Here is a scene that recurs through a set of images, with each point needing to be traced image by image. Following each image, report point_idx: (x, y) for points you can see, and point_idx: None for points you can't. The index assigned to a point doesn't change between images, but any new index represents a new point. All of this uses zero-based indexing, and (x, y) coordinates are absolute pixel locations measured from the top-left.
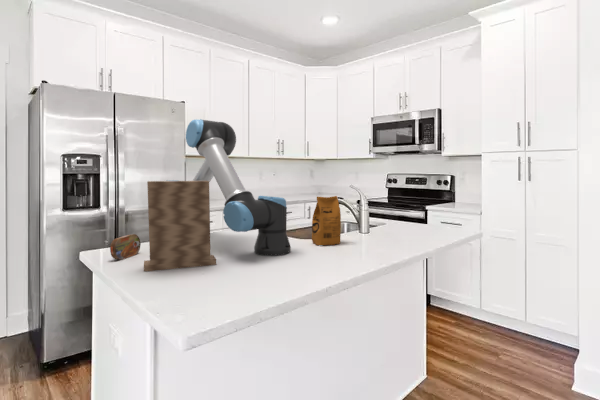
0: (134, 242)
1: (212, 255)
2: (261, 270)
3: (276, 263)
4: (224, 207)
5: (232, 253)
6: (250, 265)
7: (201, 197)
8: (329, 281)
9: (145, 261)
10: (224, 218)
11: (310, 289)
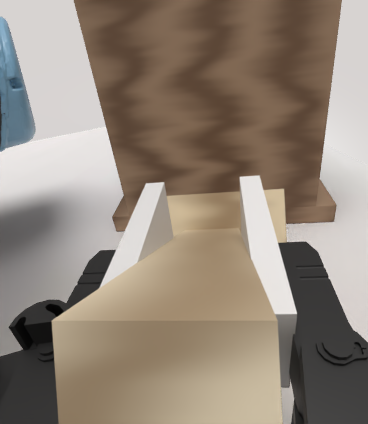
0: None
1: (117, 213)
2: (77, 169)
3: (17, 190)
4: (11, 43)
5: (4, 286)
6: (70, 188)
7: None
8: (45, 141)
9: (327, 198)
10: (26, 97)
11: (85, 131)
